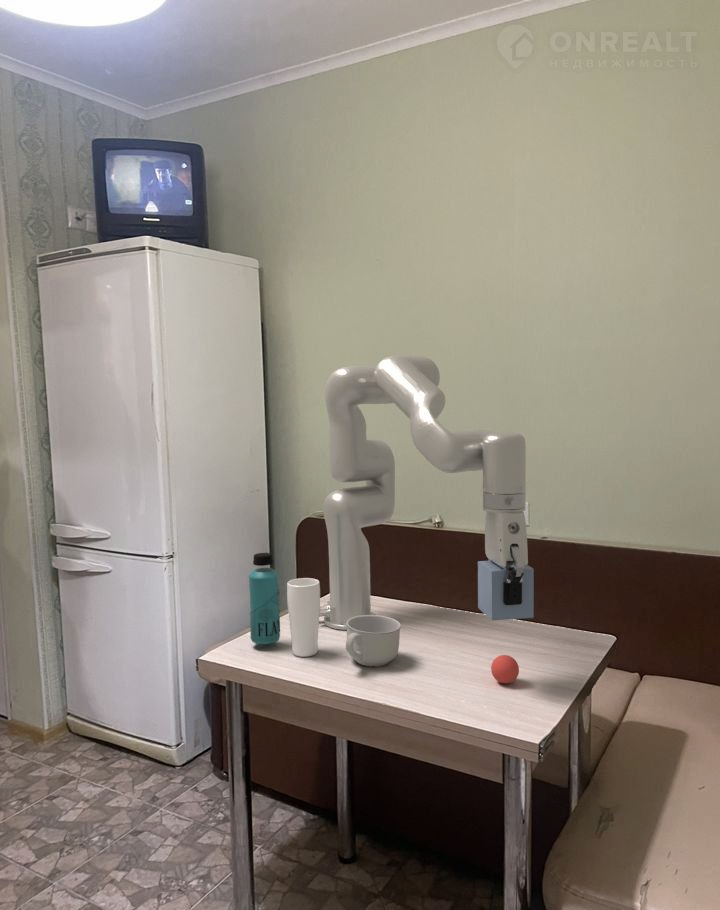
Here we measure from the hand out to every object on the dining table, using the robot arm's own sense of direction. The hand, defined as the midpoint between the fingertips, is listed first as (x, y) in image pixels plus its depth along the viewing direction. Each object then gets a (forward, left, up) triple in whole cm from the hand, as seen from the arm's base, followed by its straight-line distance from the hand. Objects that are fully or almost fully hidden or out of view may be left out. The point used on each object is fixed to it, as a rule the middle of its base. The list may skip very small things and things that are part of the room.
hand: (504, 597), depth 127 cm
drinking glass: (-35, +22, -16) cm, 44 cm away
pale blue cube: (0, 0, -3) cm, 3 cm away
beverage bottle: (-43, +28, -16) cm, 54 cm away
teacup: (-23, +14, -16) cm, 31 cm away
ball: (0, 0, -13) cm, 13 cm away
